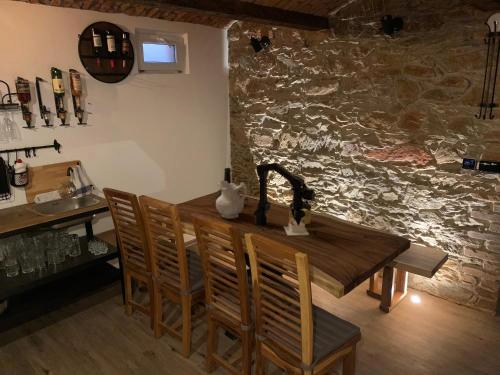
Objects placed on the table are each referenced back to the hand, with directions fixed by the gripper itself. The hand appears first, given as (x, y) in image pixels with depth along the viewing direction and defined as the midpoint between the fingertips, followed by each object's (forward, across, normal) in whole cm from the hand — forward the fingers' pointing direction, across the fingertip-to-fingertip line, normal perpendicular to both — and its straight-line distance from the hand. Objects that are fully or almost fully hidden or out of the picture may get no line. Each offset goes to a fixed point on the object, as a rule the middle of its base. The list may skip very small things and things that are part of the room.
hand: (296, 222), depth 242 cm
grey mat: (+6, 0, 0) cm, 6 cm away
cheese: (+6, +15, -5) cm, 17 cm away
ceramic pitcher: (+6, +31, +39) cm, 50 cm away
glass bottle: (+6, +57, +41) cm, 70 cm away
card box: (+5, 0, 0) cm, 5 cm away
